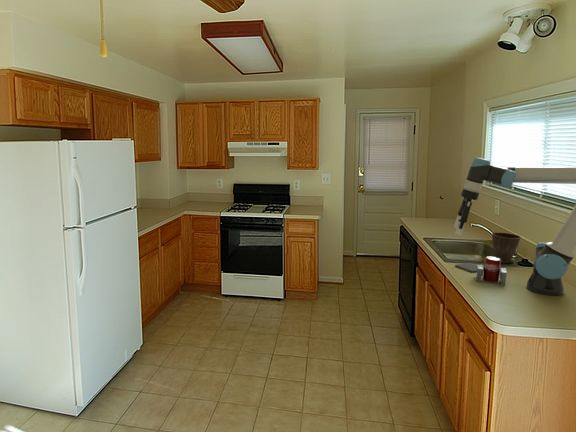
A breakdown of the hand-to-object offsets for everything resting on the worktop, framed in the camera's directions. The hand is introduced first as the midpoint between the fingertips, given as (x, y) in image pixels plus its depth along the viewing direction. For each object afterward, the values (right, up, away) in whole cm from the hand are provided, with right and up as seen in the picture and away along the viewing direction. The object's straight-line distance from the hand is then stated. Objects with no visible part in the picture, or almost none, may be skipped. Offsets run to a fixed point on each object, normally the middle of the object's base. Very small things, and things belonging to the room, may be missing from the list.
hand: (457, 231), depth 202 cm
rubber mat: (+19, -22, +28) cm, 40 cm away
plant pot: (+46, -20, +44) cm, 67 cm away
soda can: (+20, -26, +7) cm, 33 cm away
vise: (+20, -26, +7) cm, 33 cm away
